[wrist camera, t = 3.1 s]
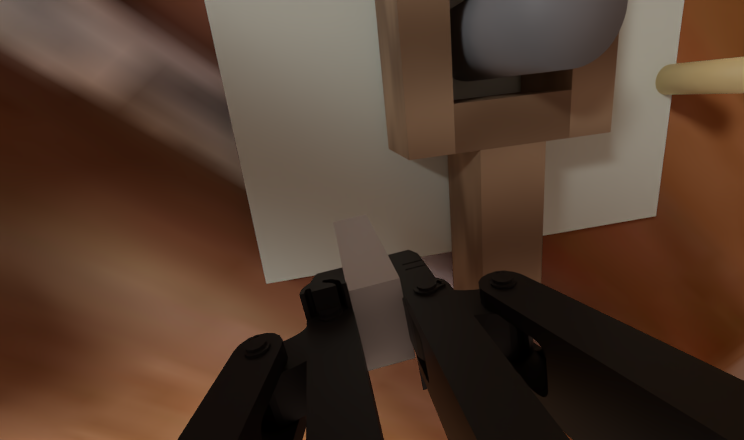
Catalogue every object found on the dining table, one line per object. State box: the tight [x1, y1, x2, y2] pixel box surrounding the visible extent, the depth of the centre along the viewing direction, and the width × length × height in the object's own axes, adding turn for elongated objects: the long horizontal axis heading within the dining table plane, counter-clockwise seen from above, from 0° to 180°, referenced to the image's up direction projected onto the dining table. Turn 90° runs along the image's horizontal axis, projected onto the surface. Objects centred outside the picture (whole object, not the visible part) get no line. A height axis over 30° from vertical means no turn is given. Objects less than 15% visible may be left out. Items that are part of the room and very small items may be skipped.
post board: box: [204, 0, 744, 284], centre depth 16 cm, size 24×22×9 cm
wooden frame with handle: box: [375, 0, 619, 290], centre depth 18 cm, size 18×9×4 cm, turn 6°
